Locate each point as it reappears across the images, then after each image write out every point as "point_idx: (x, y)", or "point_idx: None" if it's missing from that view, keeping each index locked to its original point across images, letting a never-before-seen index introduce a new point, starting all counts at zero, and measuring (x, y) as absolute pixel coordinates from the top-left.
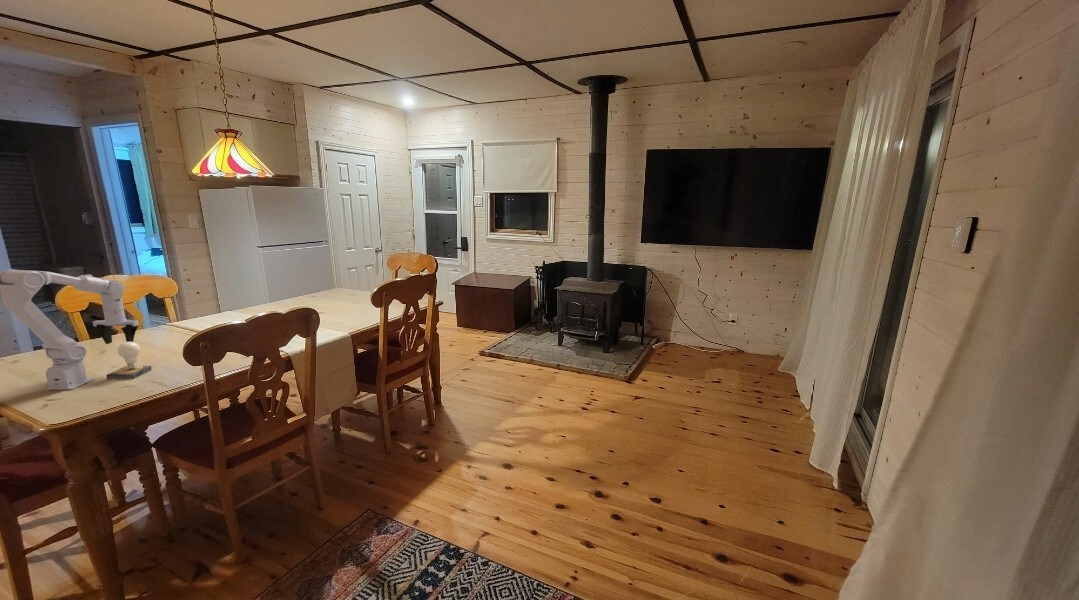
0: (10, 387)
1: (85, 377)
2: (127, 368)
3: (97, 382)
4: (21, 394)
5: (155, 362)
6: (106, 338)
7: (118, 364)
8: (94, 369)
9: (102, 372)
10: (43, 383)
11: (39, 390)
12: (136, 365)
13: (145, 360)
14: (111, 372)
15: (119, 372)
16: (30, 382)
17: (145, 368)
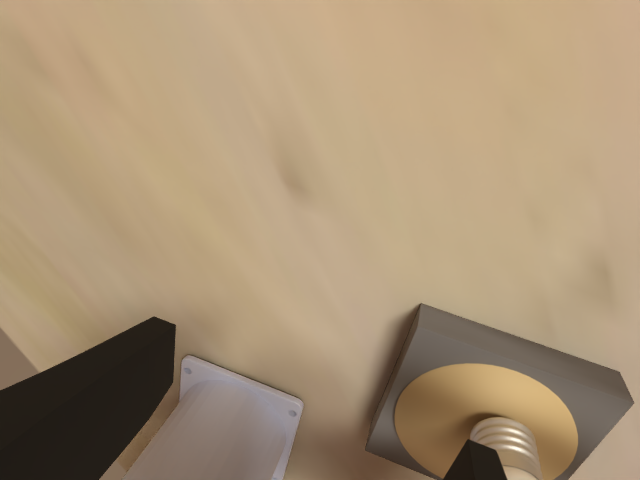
0: (17, 341)
1: (277, 450)
2: (458, 403)
3: (343, 446)
4: None
5: (624, 151)
6: (104, 451)
7: (290, 108)
8: (188, 191)
9: (277, 282)
10: None
11: (155, 429)
12: (536, 454)
13: (498, 32)
14: (377, 424)
15: (433, 459)
16: (35, 307)
17: (597, 445)
